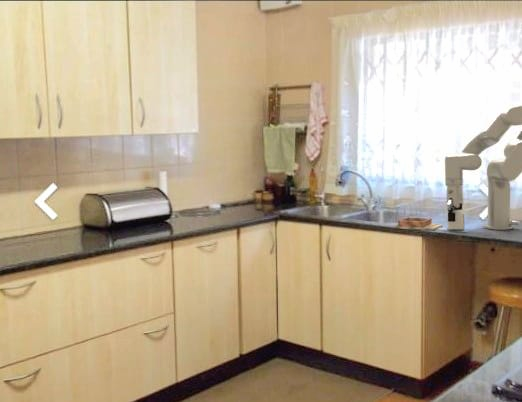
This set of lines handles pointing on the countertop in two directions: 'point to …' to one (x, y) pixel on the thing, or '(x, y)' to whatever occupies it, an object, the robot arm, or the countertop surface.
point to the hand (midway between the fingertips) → (454, 219)
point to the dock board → (417, 224)
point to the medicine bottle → (457, 219)
